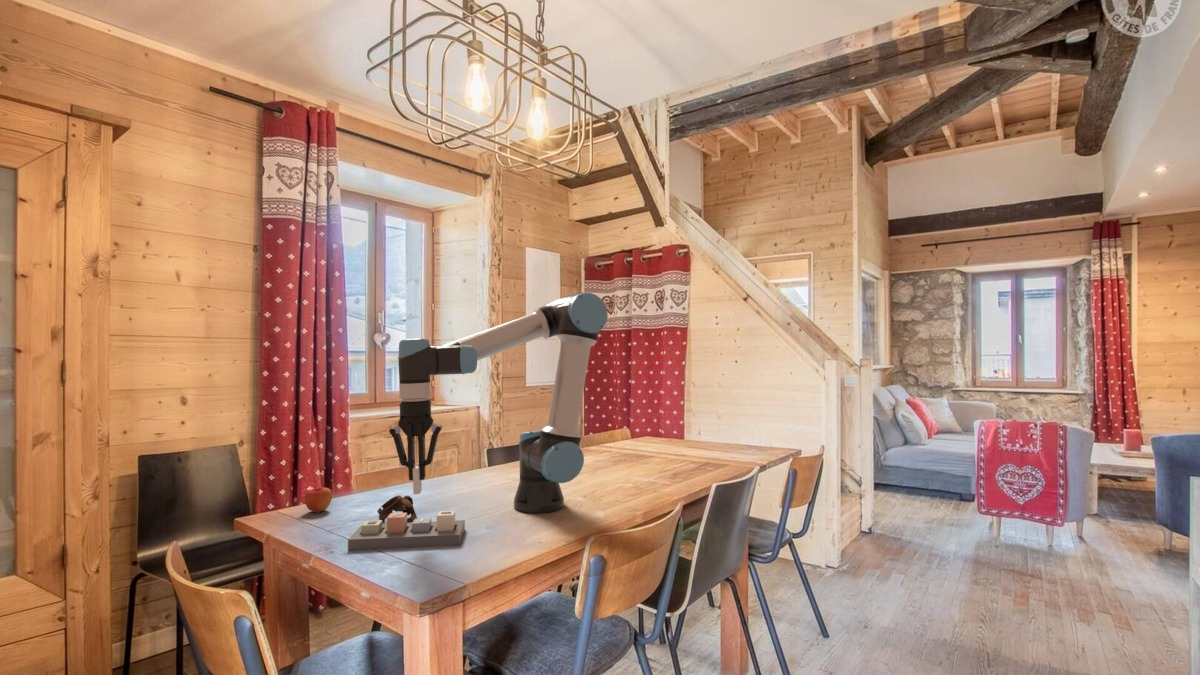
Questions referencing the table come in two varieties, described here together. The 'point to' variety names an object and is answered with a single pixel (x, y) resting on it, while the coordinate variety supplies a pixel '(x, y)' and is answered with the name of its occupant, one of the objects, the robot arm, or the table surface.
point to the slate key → (421, 525)
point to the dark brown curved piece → (397, 507)
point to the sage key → (372, 527)
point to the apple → (318, 499)
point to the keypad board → (407, 538)
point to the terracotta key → (397, 523)
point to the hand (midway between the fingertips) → (417, 492)
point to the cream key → (446, 521)
